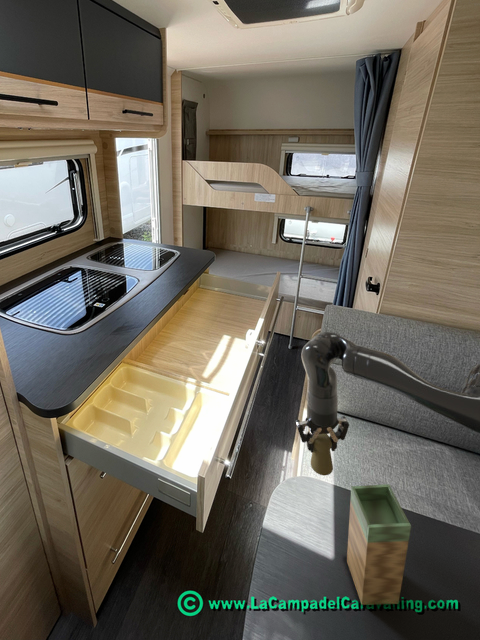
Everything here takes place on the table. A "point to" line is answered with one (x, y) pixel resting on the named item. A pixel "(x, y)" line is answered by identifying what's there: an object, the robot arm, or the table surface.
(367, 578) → the box
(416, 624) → the table surface
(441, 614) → the table surface
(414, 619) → the table surface
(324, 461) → the cork
